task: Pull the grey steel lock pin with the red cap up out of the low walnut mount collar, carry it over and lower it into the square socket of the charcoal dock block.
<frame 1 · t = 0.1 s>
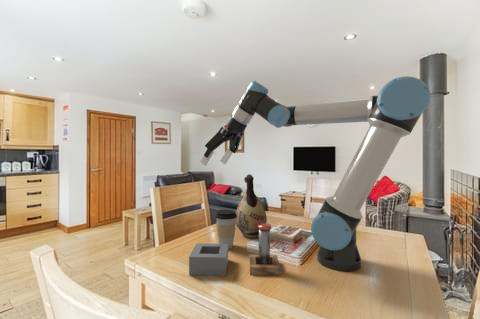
hand: (213, 163, 103), 36 cm above the table, tool tilted 35°, fingers open, 13 cm apart
ceramic jug: (250, 235, 120), on the table
mount collar: (264, 267, 86), on the table
coffee cup: (225, 246, 105), on the table
lock pin: (264, 246, 86), in the mount collar
dock block: (210, 266, 87), on the table
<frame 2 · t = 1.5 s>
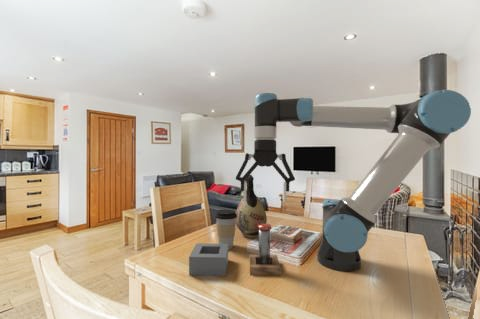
hand: (264, 200, 85), 24 cm above the table, tool pointing down, fingers open, 13 cm apart
nothing on the table moved.
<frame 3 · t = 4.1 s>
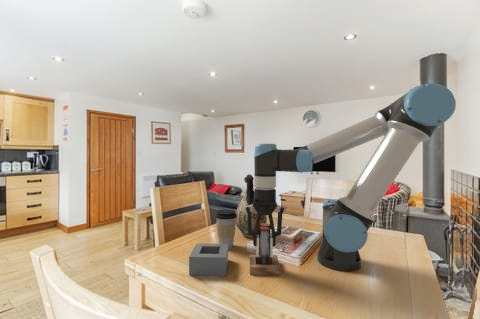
hand: (264, 254, 86), 5 cm above the table, tool pointing down, fingers closed on lock pin, 4 cm apart
lock pin: (264, 246, 86), in the mount collar, touching gripper
everything else where it was.
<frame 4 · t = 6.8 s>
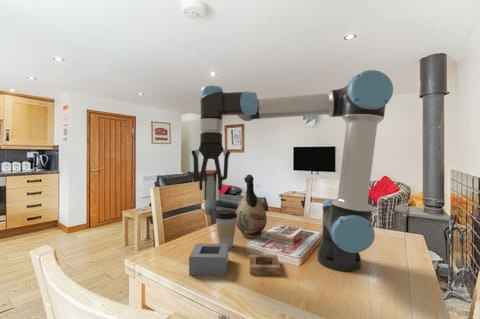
hand: (210, 199, 86), 24 cm above the table, tool pointing down, fingers closed on lock pin, 4 cm apart
lock pin: (210, 191, 86), point 26 cm above the table, touching gripper
everything else where it was.
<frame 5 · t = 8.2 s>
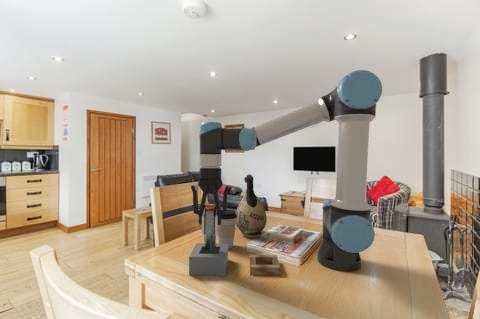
hand: (210, 233, 86), 12 cm above the table, tool pointing down, fingers closed on lock pin, 4 cm apart
lock pin: (210, 226, 86), point 14 cm above the table, touching gripper
everything else where it was.
when the fingers open (7 cm above the table, at t = 9.6 s): lock pin drops 1 cm, resting in dock block.
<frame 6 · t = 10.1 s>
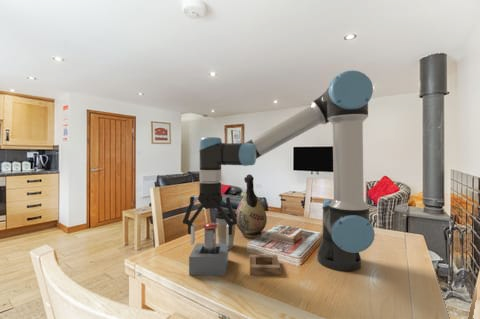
hand: (210, 243, 86), 8 cm above the table, tool pointing down, fingers open, 11 cm apart
lock pin: (210, 245, 86), in the dock block
everything else where it was.
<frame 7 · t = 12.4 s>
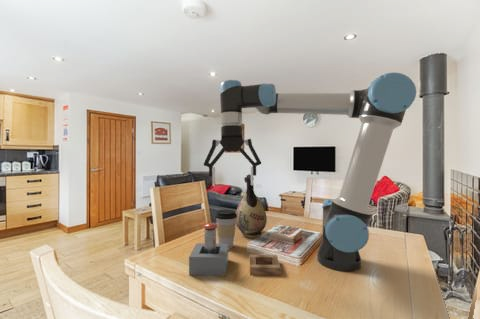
hand: (233, 185, 88), 28 cm above the table, tool pointing down, fingers open, 13 cm apart
nothing on the table moved.
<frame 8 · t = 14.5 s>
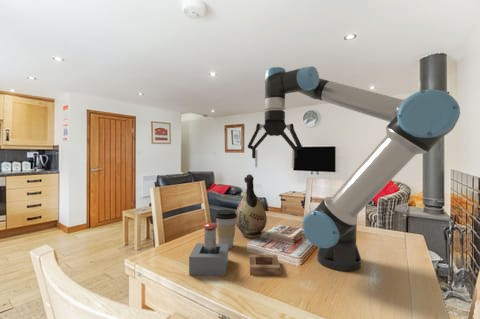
hand: (274, 167, 93), 35 cm above the table, tool pointing down, fingers open, 13 cm apart
nothing on the table moved.
at the end: lock pin 0.0 cm off-centre on the dock block, point 7.5 cm above the dock block's base; lock pin tilted 0°; the gripper is holding nothing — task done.
